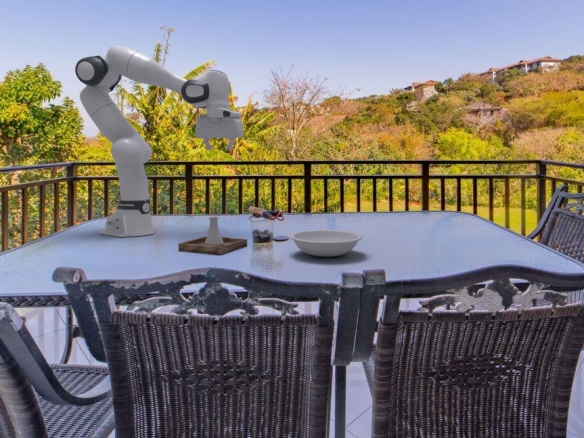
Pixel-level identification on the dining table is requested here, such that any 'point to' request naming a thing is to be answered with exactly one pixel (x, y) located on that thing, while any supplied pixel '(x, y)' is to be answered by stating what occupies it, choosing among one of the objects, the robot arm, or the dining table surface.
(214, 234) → the flask
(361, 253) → the dining table surface
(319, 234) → the soup bowl
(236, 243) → the walnut tray
